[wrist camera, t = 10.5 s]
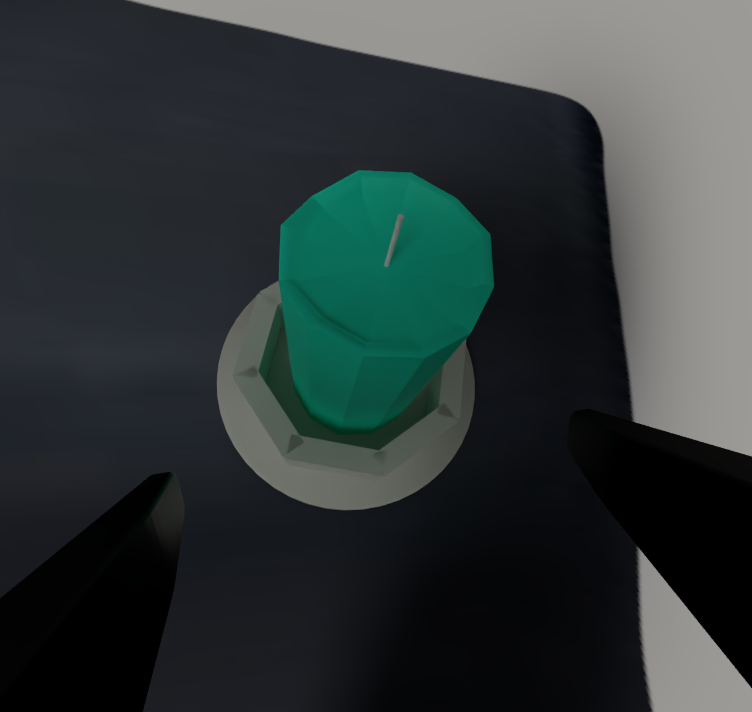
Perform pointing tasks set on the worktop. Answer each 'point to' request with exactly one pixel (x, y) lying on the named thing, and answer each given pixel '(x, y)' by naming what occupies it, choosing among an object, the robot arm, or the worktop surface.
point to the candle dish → (319, 444)
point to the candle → (378, 294)
